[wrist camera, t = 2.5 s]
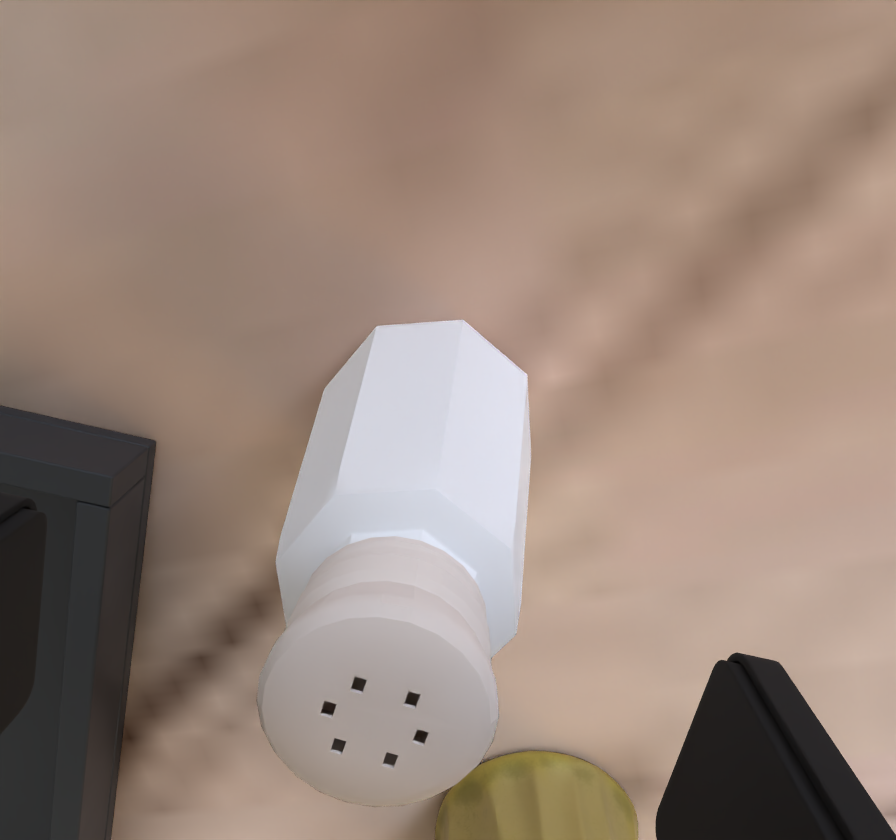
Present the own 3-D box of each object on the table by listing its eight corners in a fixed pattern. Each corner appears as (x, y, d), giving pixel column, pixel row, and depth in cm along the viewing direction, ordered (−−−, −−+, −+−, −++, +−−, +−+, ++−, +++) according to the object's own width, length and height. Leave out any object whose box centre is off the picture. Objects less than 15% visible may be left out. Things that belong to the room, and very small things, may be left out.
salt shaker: (298, 481, 20) (97, 835, 9) (354, 282, 18) (189, 435, 7) (495, 542, 20) (521, 950, 9) (568, 353, 18) (697, 593, 8)
